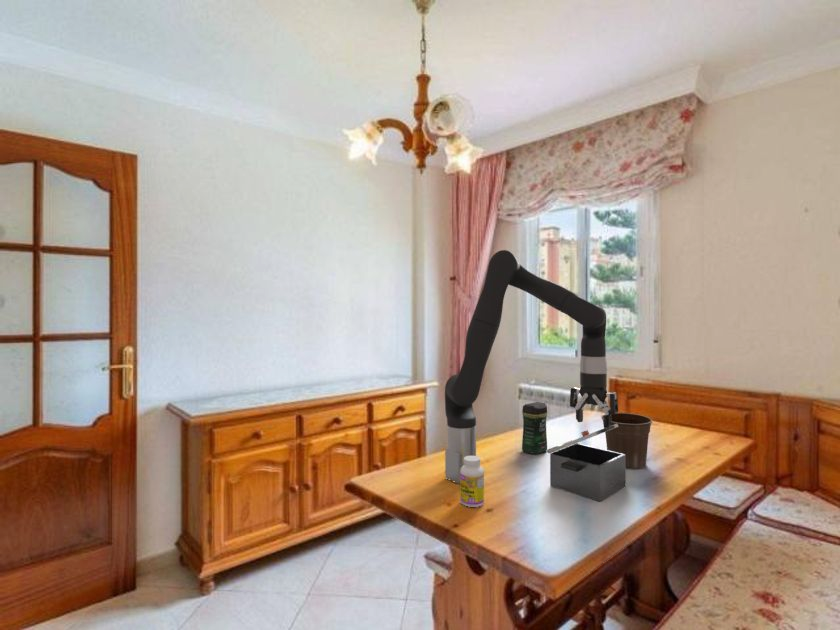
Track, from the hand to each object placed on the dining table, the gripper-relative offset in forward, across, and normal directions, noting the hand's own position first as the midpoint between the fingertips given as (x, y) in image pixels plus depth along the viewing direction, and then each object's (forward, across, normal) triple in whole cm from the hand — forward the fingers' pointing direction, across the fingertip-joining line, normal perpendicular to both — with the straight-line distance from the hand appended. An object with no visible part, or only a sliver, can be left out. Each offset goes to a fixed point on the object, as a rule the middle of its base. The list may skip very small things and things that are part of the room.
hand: (593, 424), depth 140 cm
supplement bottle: (+20, -18, -35) cm, 44 cm away
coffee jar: (+20, -33, +18) cm, 42 cm away
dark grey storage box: (+19, -2, 0) cm, 19 cm away
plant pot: (+20, -3, +29) cm, 35 cm away
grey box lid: (+5, -3, 0) cm, 6 cm away
